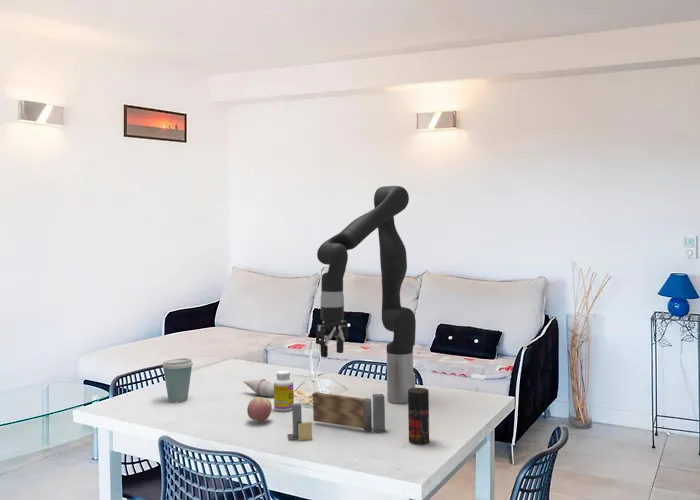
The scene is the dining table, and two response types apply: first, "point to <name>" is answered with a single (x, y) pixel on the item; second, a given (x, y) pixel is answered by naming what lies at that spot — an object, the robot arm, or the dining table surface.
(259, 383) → the ice cream cone
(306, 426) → the toy blocks
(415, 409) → the deodorant
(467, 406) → the dining table surface
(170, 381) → the disposable coffee cup
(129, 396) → the dining table surface
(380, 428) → the hinge post
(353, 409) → the gate
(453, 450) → the dining table surface
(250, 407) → the apple
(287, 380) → the supplement bottle
